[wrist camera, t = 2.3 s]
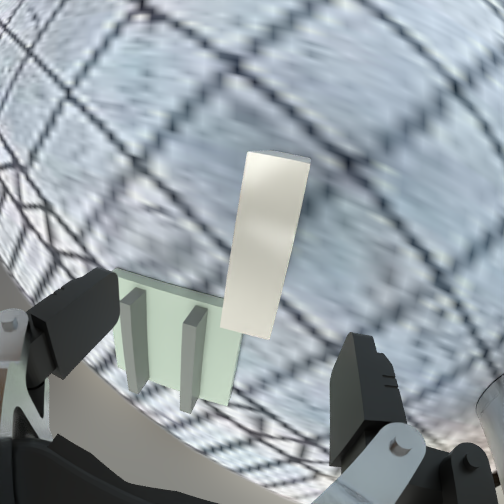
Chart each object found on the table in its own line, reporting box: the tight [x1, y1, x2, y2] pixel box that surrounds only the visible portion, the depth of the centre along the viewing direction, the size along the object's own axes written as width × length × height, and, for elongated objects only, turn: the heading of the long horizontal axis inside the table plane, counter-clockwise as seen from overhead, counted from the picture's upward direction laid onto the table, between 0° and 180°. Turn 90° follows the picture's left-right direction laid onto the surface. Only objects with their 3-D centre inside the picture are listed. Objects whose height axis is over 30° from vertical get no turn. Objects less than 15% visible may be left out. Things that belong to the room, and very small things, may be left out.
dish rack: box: [111, 268, 243, 414], centre depth 28 cm, size 14×13×4 cm
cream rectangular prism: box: [220, 150, 311, 340], centre depth 19 cm, size 3×10×9 cm, turn 170°
